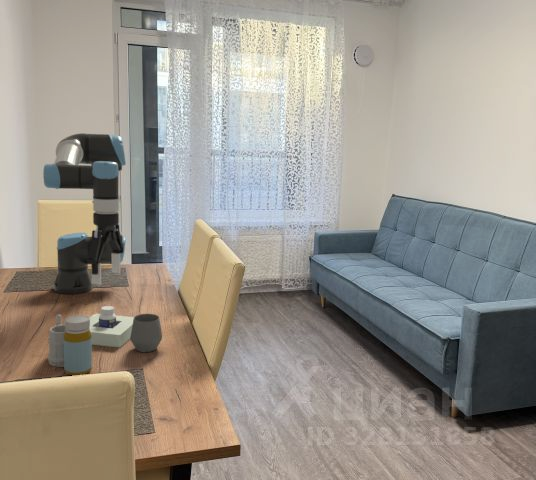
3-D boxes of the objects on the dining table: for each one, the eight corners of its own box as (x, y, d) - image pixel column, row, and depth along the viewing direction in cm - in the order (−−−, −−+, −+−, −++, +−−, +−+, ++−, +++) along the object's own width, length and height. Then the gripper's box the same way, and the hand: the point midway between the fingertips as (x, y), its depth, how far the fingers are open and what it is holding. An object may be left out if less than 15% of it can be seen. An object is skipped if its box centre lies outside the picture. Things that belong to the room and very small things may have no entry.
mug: (49, 369, 136) (48, 327, 134) (44, 353, 146) (43, 314, 144) (79, 364, 140) (78, 324, 138) (72, 349, 150) (71, 310, 148)
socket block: (95, 324, 171) (95, 313, 170) (140, 329, 169) (140, 317, 168) (71, 342, 155) (70, 329, 154) (120, 347, 153) (120, 335, 152)
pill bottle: (111, 338, 159) (111, 311, 157) (95, 336, 160) (95, 309, 158) (118, 332, 164) (118, 306, 163) (103, 330, 165) (103, 304, 163)
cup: (146, 357, 147) (146, 325, 145) (123, 349, 151) (123, 318, 150) (168, 347, 155) (168, 317, 153) (146, 340, 159) (146, 310, 158)
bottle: (67, 365, 139) (66, 314, 136) (93, 365, 140) (93, 314, 137) (62, 377, 132) (60, 323, 129) (89, 376, 133) (89, 323, 131)
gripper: (112, 206, 167) (112, 267, 171) (73, 216, 143) (75, 288, 147) (133, 207, 166) (133, 269, 170) (98, 218, 142) (99, 290, 146)
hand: (106, 278), depth 159 cm, fingers open, 13 cm apart
